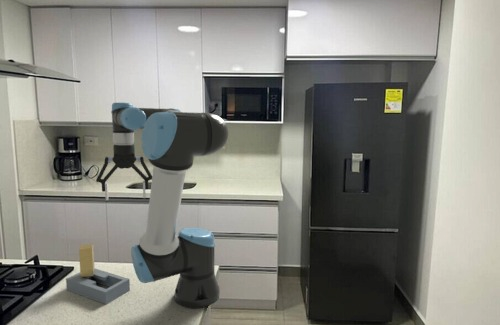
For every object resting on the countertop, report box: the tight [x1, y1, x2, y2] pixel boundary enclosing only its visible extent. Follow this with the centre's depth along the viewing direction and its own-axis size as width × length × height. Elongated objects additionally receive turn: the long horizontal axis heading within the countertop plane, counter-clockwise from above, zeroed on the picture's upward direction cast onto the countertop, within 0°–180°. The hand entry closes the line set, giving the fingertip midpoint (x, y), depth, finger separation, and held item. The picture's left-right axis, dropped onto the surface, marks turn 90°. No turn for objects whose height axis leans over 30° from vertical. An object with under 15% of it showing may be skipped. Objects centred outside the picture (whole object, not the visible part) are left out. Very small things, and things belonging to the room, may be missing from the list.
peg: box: [78, 243, 97, 283], centre depth 117 cm, size 5×5×15 cm
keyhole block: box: [65, 268, 131, 305], centre depth 115 cm, size 20×10×4 cm, turn 64°
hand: (126, 198), depth 128 cm, fingers open, 13 cm apart
